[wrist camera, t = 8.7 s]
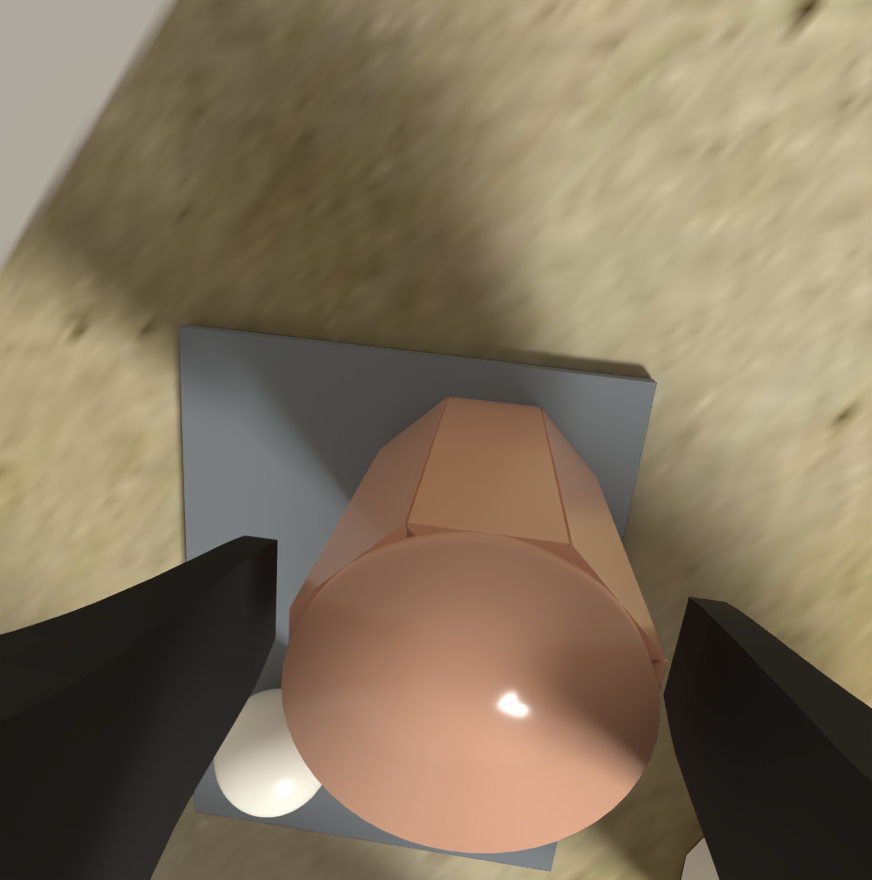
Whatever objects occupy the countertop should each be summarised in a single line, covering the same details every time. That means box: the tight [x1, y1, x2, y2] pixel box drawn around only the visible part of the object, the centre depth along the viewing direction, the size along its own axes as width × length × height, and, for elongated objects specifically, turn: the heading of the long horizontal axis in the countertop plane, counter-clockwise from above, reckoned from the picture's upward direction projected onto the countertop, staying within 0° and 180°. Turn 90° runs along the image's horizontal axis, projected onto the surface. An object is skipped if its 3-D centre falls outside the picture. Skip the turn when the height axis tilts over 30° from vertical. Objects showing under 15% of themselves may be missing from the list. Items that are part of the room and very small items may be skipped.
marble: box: [214, 689, 322, 817], centre depth 16 cm, size 3×3×3 cm
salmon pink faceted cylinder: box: [281, 397, 667, 853], centre depth 12 cm, size 5×5×7 cm
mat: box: [179, 325, 657, 871], centre depth 17 cm, size 15×11×1 cm
